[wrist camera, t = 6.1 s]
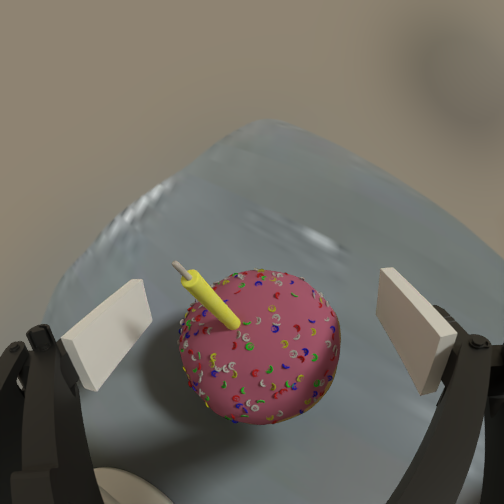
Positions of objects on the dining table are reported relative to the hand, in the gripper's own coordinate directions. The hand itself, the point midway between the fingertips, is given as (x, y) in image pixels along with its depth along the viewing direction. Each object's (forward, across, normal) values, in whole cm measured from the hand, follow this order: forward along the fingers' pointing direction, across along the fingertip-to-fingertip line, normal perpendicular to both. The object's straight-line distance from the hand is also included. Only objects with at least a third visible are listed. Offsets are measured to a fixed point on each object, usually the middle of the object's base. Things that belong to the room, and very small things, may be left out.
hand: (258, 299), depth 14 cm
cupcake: (+2, 0, -6) cm, 6 cm away
